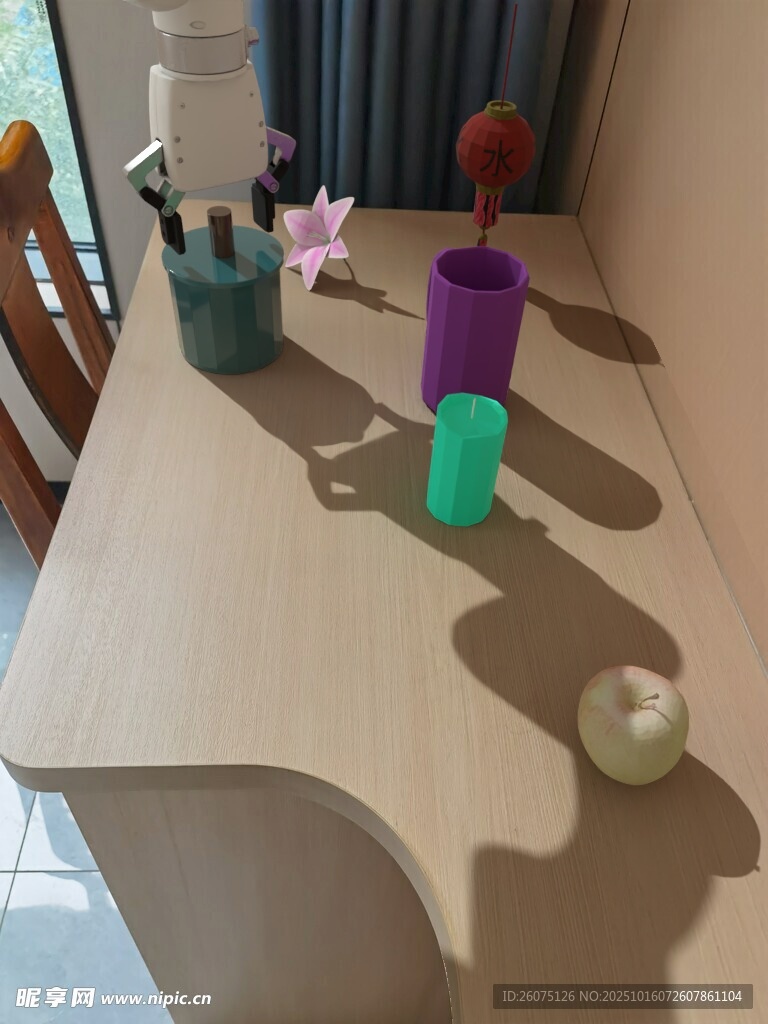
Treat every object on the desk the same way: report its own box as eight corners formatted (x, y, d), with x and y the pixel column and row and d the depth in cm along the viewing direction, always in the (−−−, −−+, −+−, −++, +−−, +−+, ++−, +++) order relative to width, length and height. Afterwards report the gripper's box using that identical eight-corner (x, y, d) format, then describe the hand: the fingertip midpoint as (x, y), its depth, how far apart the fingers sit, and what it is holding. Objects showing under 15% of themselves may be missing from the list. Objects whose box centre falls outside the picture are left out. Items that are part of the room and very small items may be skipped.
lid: (156, 294, 78) (146, 240, 74) (170, 234, 87) (162, 183, 83) (283, 294, 79) (281, 241, 75) (285, 235, 88) (283, 185, 84)
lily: (287, 249, 108) (257, 199, 100) (368, 216, 106) (344, 162, 98) (302, 318, 103) (271, 271, 95) (388, 285, 101) (364, 234, 93)
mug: (436, 431, 81) (452, 298, 70) (389, 346, 91) (397, 220, 81) (519, 417, 83) (547, 286, 73) (464, 336, 93) (481, 211, 83)
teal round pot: (175, 374, 85) (160, 286, 78) (185, 317, 93) (173, 231, 86) (282, 374, 86) (278, 286, 79) (284, 317, 94) (280, 232, 87)
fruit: (694, 768, 56) (735, 708, 50) (615, 818, 53) (649, 760, 48) (621, 686, 61) (651, 622, 55) (545, 727, 58) (568, 665, 52)
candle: (412, 499, 74) (422, 394, 65) (458, 472, 77) (473, 368, 68) (458, 536, 71) (476, 431, 62) (504, 506, 74) (526, 402, 65)
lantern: (515, 287, 102) (565, 19, 81) (441, 281, 102) (471, 12, 81) (513, 252, 108) (557, -5, 87) (443, 246, 109) (471, -11, 87)
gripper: (270, 26, 75) (278, 205, 87) (87, 49, 67) (124, 241, 79) (311, 49, 70) (313, 233, 82) (121, 76, 63) (155, 275, 75)
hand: (221, 237), depth 81 cm, fingers open, 9 cm apart
